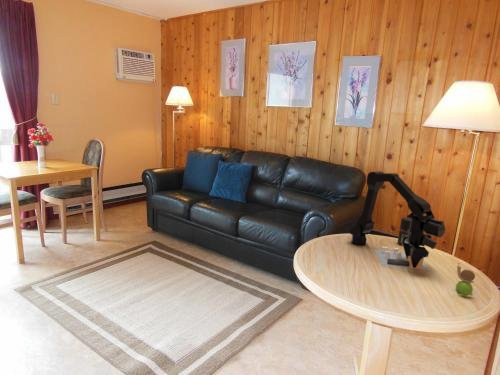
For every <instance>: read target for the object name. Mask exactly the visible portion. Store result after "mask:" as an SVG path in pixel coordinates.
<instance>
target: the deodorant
mask: <svg viewBox="0 0 500 375" xmlns="http://www.w3.org/2000/svg"><path fill="white" fill-rule="evenodd" d="M410 224H411V218H408V217H407V216H406V217H401V220H400V224H399V231H398V237H397V245H398V246H401V247H403V245H402V241H401V236H402V235H404V234H405V235H409V233H408V230H409V229H410Z"/></svg>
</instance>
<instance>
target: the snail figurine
mask: <svg viewBox="0 0 500 375" xmlns="http://www.w3.org/2000/svg"><path fill="white" fill-rule="evenodd" d="M456 272H457V276H458V278H459V279H460V281H458V282H457V283H456V285H455V289H456V291H457V292H458V293H459V295H461V294H462V296H469V295H472V293H473V289H474V288H473V285H472V284H473V283H474V282H475V281H474V280H475V278H476V274H475V273H474V271H473V270H471V269H466V268H465V269H463V270H462V266H461V265H460V262H457V266H456Z"/></svg>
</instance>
